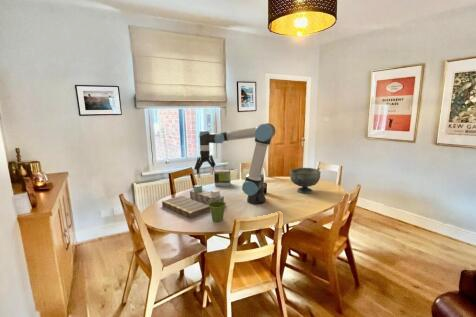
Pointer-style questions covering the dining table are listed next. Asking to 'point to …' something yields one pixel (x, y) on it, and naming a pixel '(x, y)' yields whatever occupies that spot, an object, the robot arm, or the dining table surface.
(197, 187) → the cargo crate
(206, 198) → the grey lumpy bar
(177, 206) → the grey flat block
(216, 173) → the tea box
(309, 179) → the decorative bowl
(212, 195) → the cargo crate
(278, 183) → the dining table surface
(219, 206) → the plant pot
